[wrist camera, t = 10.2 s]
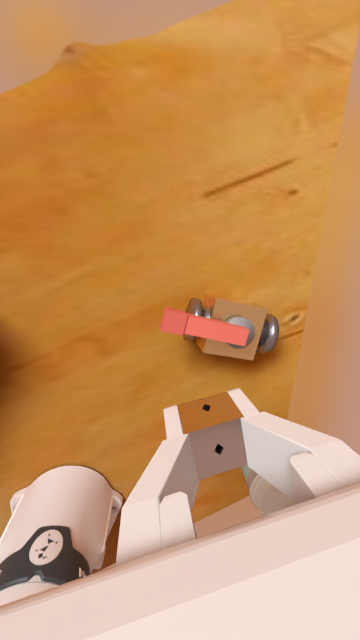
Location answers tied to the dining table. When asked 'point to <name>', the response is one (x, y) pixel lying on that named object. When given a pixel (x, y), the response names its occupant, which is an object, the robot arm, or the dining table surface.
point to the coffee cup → (265, 493)
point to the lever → (209, 327)
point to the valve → (227, 309)
